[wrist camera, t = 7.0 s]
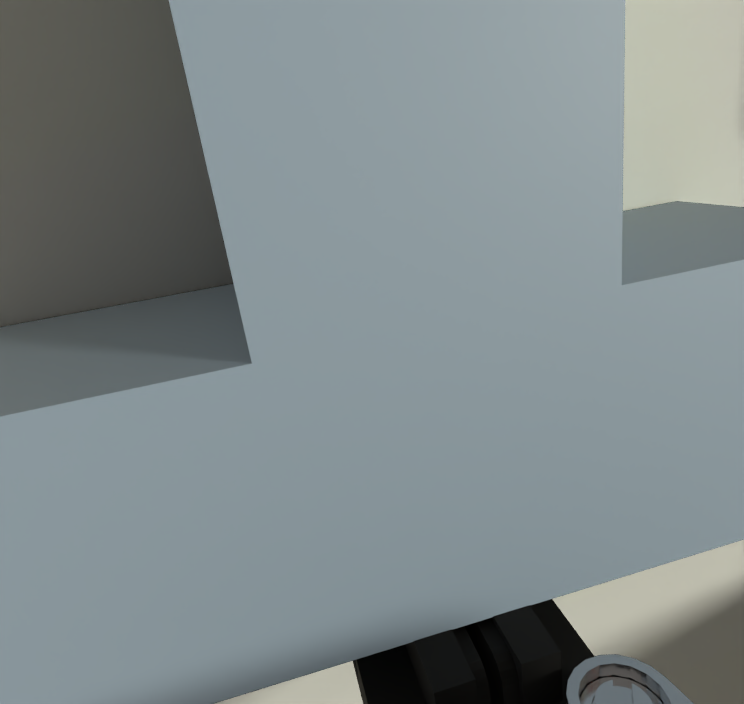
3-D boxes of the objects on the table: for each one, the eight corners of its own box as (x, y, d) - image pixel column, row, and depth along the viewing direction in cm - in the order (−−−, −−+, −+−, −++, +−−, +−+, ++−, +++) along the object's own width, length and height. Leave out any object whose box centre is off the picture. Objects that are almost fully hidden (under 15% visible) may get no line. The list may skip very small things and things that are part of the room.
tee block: (695, -212, 8) (1054, -498, 5) (668, 396, 12) (865, 501, 8) (-229, -169, 6) (-846, -616, 3) (61, 549, 10) (-39, 782, 6)
